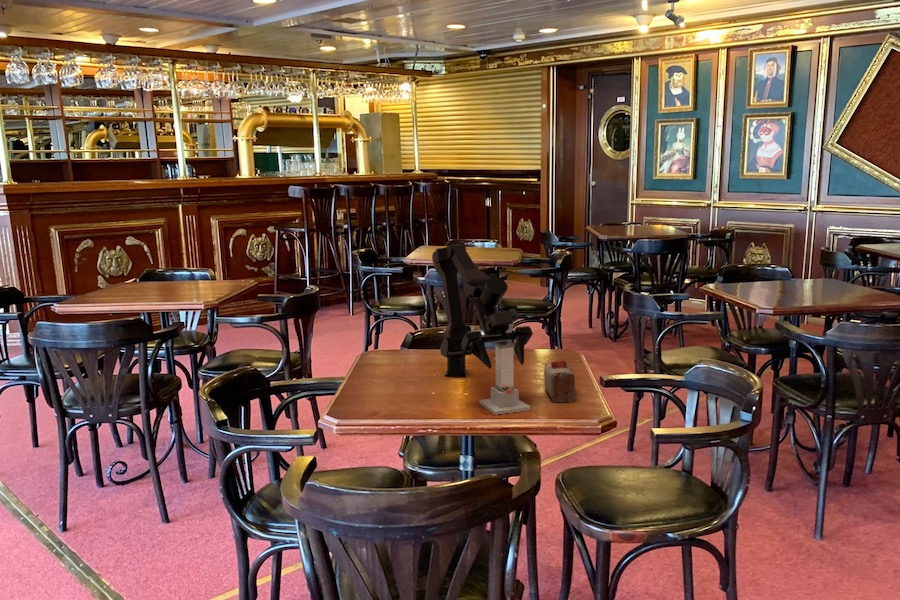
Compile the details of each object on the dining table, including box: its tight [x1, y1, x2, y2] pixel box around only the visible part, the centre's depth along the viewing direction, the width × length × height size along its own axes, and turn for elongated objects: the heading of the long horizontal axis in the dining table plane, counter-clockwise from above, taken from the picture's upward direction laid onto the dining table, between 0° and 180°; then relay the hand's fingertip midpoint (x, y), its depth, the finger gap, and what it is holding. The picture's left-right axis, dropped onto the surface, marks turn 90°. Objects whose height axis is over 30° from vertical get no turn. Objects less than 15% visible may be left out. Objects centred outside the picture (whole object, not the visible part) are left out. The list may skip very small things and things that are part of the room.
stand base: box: [478, 386, 531, 416], centre depth 188 cm, size 10×10×6 cm
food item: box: [543, 360, 576, 403], centre depth 198 cm, size 14×8×10 cm, turn 3°
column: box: [494, 340, 515, 392], centre depth 187 cm, size 4×4×12 cm
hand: (506, 365), depth 186 cm, fingers open, 9 cm apart
